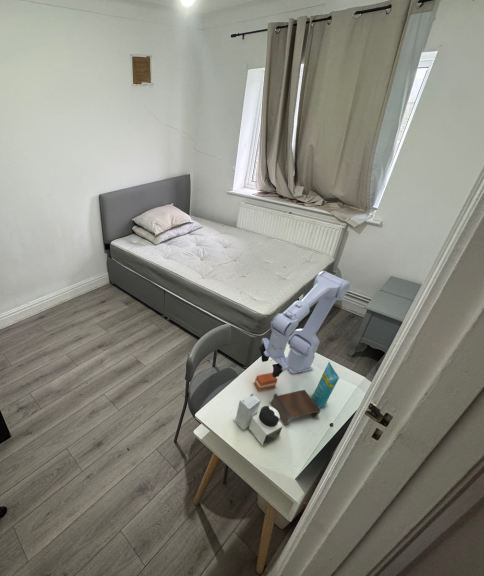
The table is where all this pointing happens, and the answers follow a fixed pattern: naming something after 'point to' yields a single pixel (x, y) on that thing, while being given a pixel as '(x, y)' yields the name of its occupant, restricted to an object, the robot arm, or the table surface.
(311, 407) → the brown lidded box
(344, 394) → the table surface
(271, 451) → the table surface
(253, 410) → the cosmetic box
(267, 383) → the snack box
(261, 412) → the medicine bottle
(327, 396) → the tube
